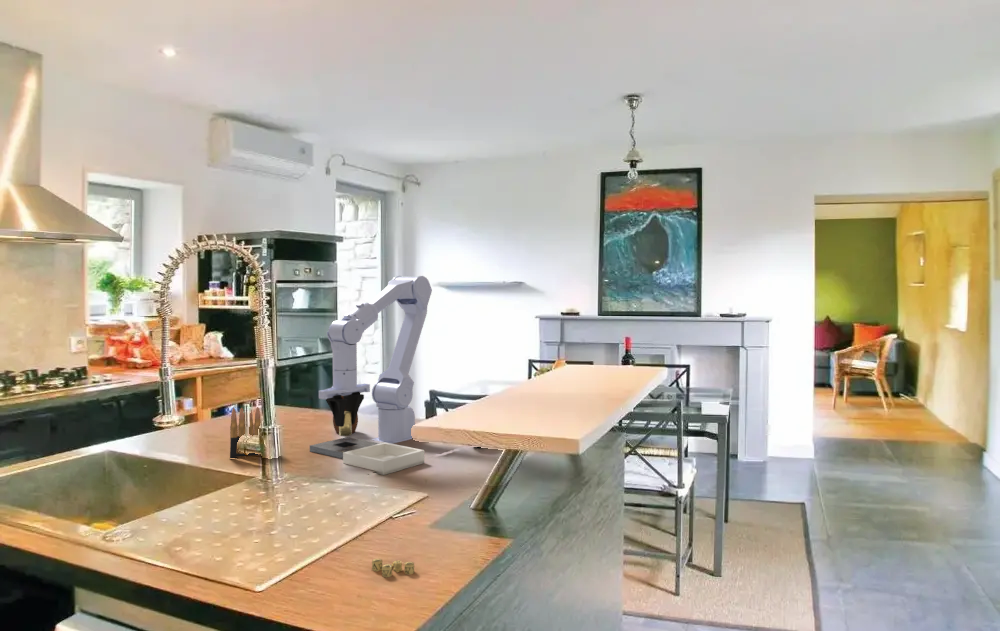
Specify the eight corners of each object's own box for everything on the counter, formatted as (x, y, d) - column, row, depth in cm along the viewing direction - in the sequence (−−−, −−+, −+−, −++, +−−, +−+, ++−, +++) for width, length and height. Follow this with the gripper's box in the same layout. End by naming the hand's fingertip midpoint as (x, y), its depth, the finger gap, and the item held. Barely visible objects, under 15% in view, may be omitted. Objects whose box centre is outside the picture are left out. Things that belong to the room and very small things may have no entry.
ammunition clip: (277, 454, 172) (277, 405, 171) (277, 456, 170) (277, 406, 170) (230, 457, 169) (229, 407, 168) (229, 459, 167) (229, 408, 166)
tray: (384, 454, 172) (384, 442, 172) (424, 462, 164) (424, 450, 164) (343, 465, 162) (343, 452, 162) (383, 475, 154) (383, 461, 154)
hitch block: (347, 444, 182) (347, 437, 182) (380, 451, 175) (380, 443, 175) (309, 453, 173) (309, 445, 173) (342, 461, 166) (342, 452, 166)
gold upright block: (346, 432, 176) (345, 410, 176) (354, 434, 174) (354, 412, 174) (336, 434, 174) (336, 412, 173) (344, 436, 172) (344, 413, 171)
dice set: (416, 577, 103) (416, 564, 103) (382, 585, 100) (382, 571, 100) (402, 565, 107) (402, 552, 107) (370, 572, 105) (370, 559, 104)
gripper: (356, 365, 181) (356, 418, 182) (310, 371, 170) (310, 427, 170) (375, 367, 177) (375, 421, 178) (329, 373, 165) (330, 431, 166)
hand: (345, 424), depth 174 cm, fingers closed on gold upright block, 3 cm apart
